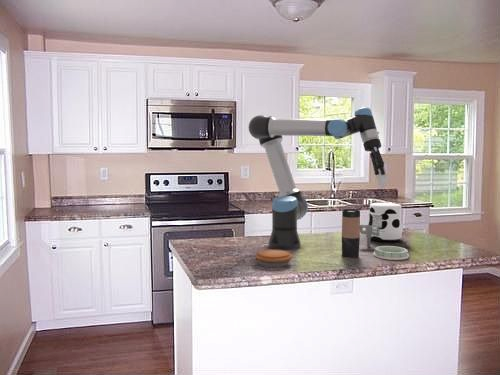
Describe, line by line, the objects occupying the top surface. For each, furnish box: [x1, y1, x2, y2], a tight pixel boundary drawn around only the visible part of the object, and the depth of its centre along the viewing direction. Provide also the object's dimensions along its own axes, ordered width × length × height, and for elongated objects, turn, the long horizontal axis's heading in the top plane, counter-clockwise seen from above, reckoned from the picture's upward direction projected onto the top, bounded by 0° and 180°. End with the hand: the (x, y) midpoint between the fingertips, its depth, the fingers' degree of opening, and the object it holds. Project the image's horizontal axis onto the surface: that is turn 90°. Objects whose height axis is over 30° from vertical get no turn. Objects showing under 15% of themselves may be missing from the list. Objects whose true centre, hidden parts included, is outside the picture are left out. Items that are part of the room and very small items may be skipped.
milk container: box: [367, 202, 404, 242], centre depth 234 cm, size 17×17×18 cm
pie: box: [254, 249, 294, 268], centre depth 189 cm, size 16×16×5 cm
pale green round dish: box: [372, 245, 410, 261], centre depth 202 cm, size 15×15×3 cm
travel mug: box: [341, 209, 361, 259], centre depth 200 cm, size 8×8×20 cm
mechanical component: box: [360, 224, 381, 248], centre depth 220 cm, size 3×10×10 cm, turn 79°
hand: (383, 185), depth 206 cm, fingers open, 13 cm apart
